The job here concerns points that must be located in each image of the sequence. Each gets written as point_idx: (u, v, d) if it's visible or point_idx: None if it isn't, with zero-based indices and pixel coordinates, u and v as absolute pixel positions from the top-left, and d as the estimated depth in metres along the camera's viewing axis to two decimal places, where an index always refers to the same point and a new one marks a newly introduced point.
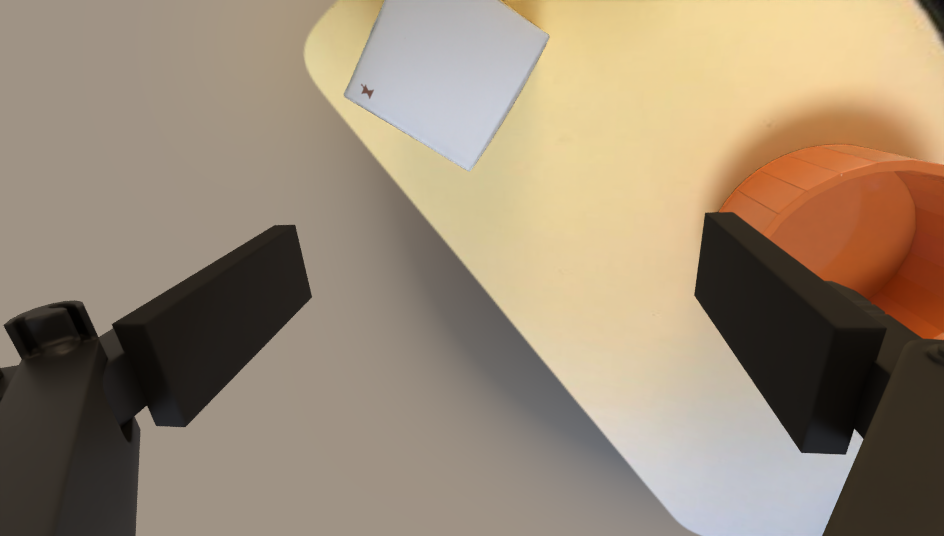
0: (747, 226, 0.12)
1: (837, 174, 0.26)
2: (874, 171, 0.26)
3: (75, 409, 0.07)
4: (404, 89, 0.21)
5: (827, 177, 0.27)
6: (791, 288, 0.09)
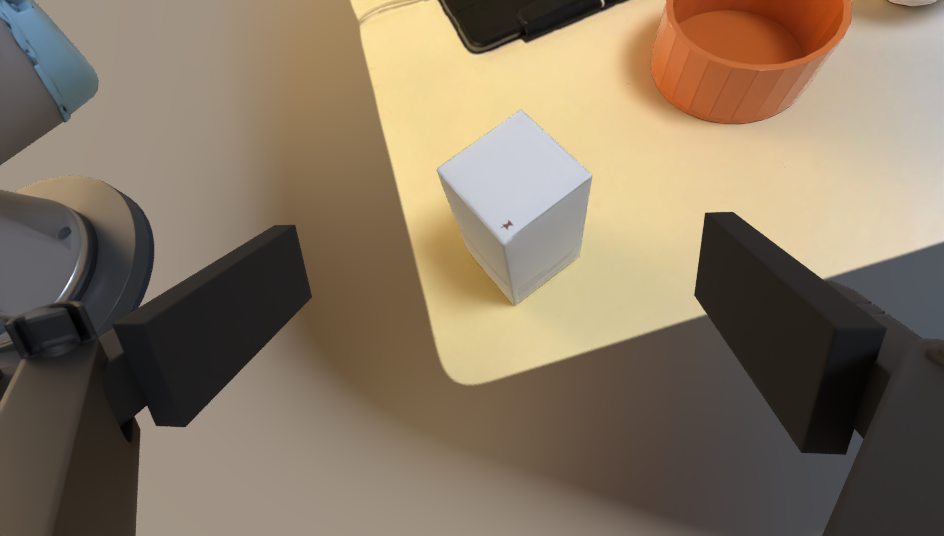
0: (747, 226, 0.12)
1: (668, 21, 0.39)
2: (671, 5, 0.40)
3: (75, 409, 0.07)
4: (516, 198, 0.28)
5: (670, 26, 0.39)
6: (791, 288, 0.09)
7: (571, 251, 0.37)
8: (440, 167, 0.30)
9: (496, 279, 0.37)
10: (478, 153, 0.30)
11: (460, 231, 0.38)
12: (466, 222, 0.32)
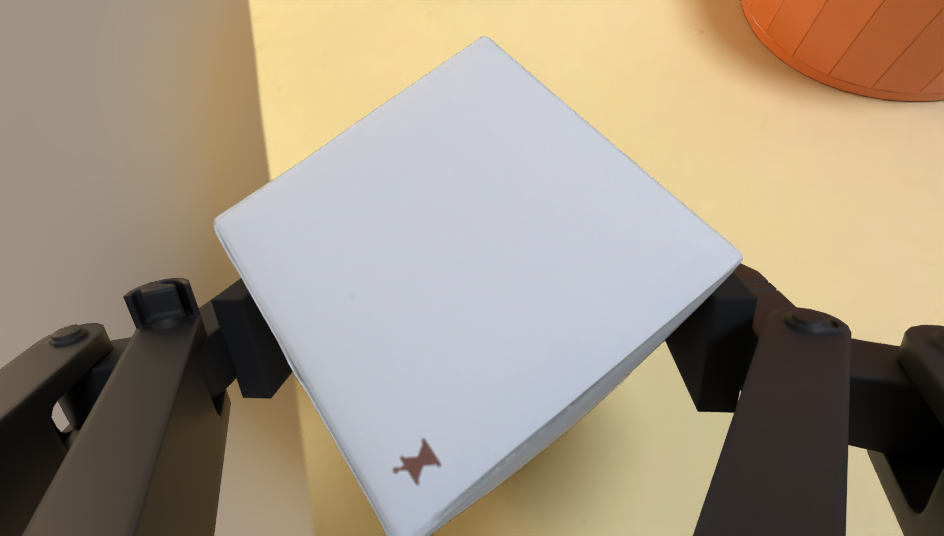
0: None
1: None
2: None
3: (173, 383, 0.08)
4: (459, 346, 0.07)
5: None
6: None
7: (614, 388, 0.16)
8: (223, 216, 0.09)
9: None
10: (344, 171, 0.09)
11: None
12: None
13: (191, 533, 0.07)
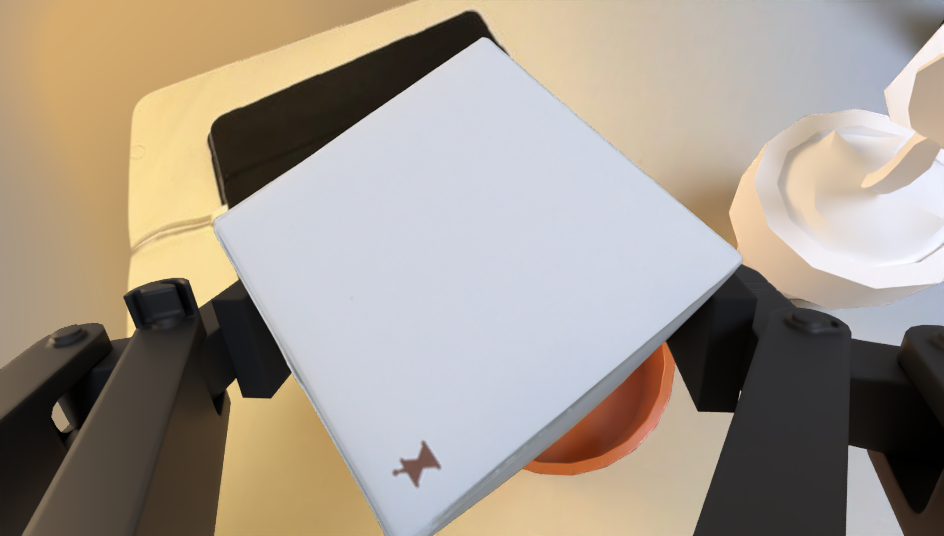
0: None
1: None
2: None
3: (173, 383, 0.08)
4: (459, 348, 0.07)
5: None
6: None
7: None
8: (223, 218, 0.09)
9: None
10: (343, 173, 0.09)
11: None
12: None
13: (191, 533, 0.07)
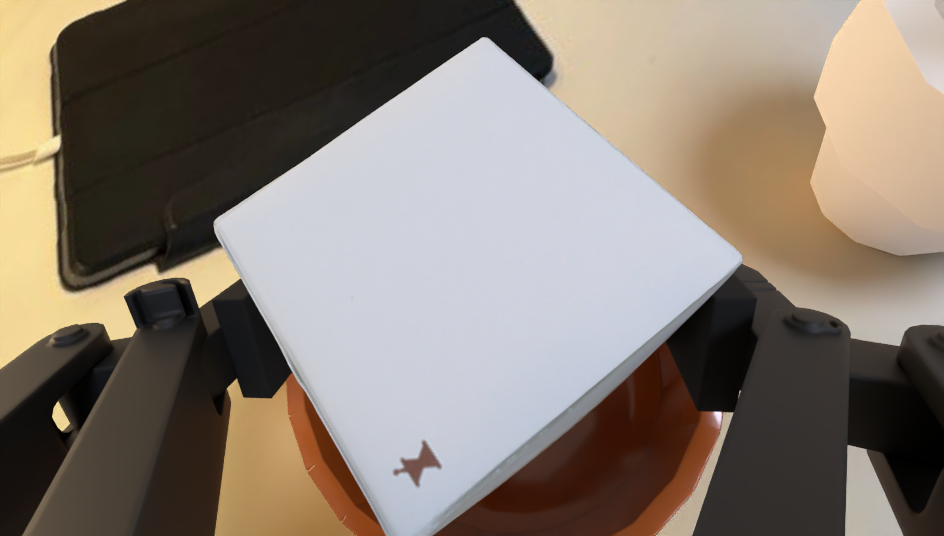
0: None
1: None
2: None
3: (174, 382, 0.08)
4: (459, 347, 0.07)
5: None
6: None
7: None
8: (223, 218, 0.09)
9: None
10: (344, 172, 0.09)
11: None
12: None
13: (191, 533, 0.07)
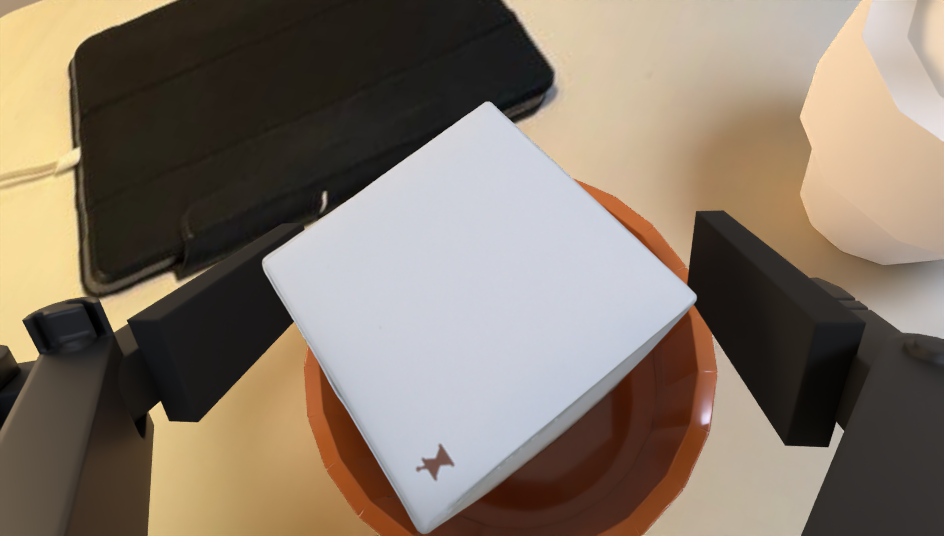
0: (736, 224, 0.12)
1: (304, 369, 0.17)
2: None
3: (90, 404, 0.07)
4: (468, 369, 0.09)
5: (306, 382, 0.17)
6: (776, 284, 0.09)
7: None
8: (270, 257, 0.11)
9: None
10: (371, 220, 0.11)
11: None
12: None
13: None
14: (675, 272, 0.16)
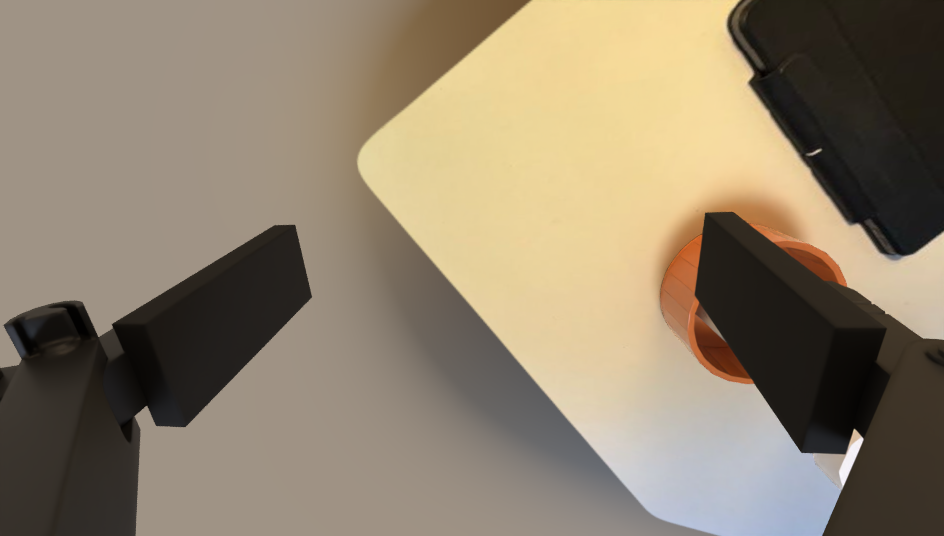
0: (747, 226, 0.12)
1: None
2: None
3: (75, 409, 0.07)
4: None
5: None
6: (791, 288, 0.09)
7: None
8: None
9: None
10: None
11: None
12: None
13: None
14: None
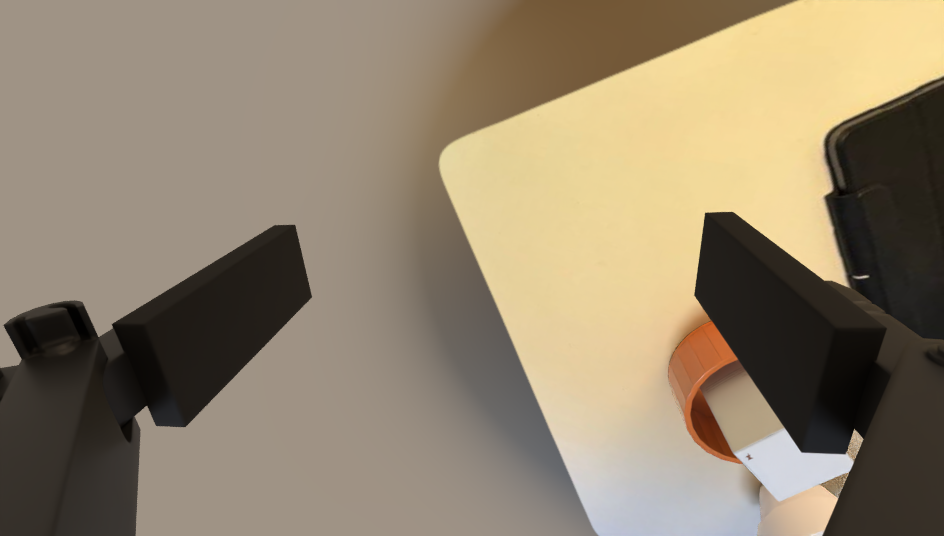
0: (747, 226, 0.12)
1: None
2: None
3: (75, 409, 0.07)
4: (770, 463, 0.39)
5: None
6: (791, 288, 0.09)
7: None
8: None
9: None
10: None
11: None
12: (763, 400, 0.41)
13: None
14: None
